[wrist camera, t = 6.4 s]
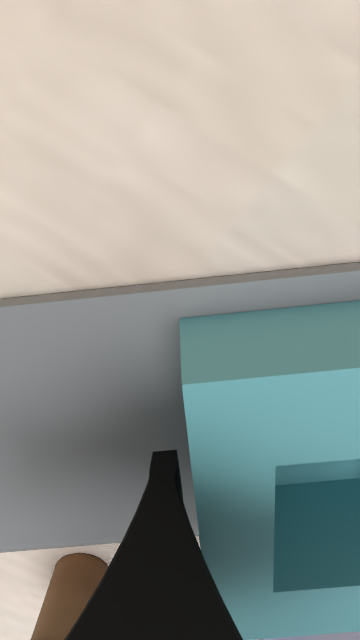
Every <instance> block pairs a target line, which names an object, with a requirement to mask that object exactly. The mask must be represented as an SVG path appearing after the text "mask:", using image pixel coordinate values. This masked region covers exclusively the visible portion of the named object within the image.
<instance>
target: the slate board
mask: <svg viewBox="0 0 360 640" xmlns="http://www.w3.org/2000/svg"><path fill="white" fill-rule="evenodd" d="M358 300H360V262H355V263H346V264H336V265H326V266H316V267H307V268H297V269H287V270H277V271H268V272H258V273H248V274H238V275H229V276H219V277H209V278H200V279H190V280H180V281H170V282H161V283H151V284H141V285H131V286H122V287H112V288H102V289H92V290H83V291H73V292H63V293H54V294H44V295H34V296H24V297H15V298H5V299H0V553H2V552H14V551H26V550H38V549H49V548H61V547H73V546H85V545H96V544H108V543H120V542H122V540H123V538H124V536H125V534H126V531H127V529H128V527H129V525H130V523H131V521H132V519H133V517H134V514H135V512H136V510H137V507H138V505H139V503H140V500H141V498H142V495H143V493H144V491H145V488H146V485H147V483H148V480H149V470H150V464H151V458H152V453H153V452H155V451H166V450H177V454H178V462H179V469H180V476H181V484H182V491H183V503H184V506H185V509H186V512H187V515H188V518H189V521H190V524H191V526H192V529H193V532H194V534H195V536H199V530H198V522H197V513H196V504H195V495H194V487H193V478H192V469H191V461H190V452H189V443H188V435H187V426H186V417H185V408H184V400H183V391H182V378H181V353H180V328H179V318H188V317H198V316H208V315H218V314H228V313H238V312H248V311H258V310H268V309H278V308H288V307H298V306H308V305H318V304H328V303H338V302H348V301H358Z"/></svg>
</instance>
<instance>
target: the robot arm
mask: <svg viewBox="0 0 360 640" xmlns="http://www.w3.org/2000/svg"><path fill="white" fill-rule="evenodd" d="M64 640H243V639H242V637H241V635H240V633H239V631H238V629H237V627H236V625H235V623H234V621H233V619H232V617H231V615H230V613H229V611H228V609H227V607H226V605H225V603H224V601H223V599H222V597H221V595H220V593H219V590H218V588H217V586H216V584H215V582H214V580H213V578H212V575H211V573H210V571H209V569H208V566H207V564H206V562H205V559H204V557H203V555H202V552H201V550H200V547H199V545H198V542H197V540H196V537H195V534H194V532H193V529H192V526H191V524H190V521H189V518H188V515H187V512H186V509H185V506H184V503H183V491H182V484H181V476H180V469H179V462H178V454H177V450H166V451H155V452H153V453H152V458H151V464H150V470H149V480H148V483H147V485H146V488H145V491H144V493H143V495H142V498H141V500H140V503H139V505H138V507H137V510H136V512H135V514H134V517H133V519H132V521H131V523H130V525H129V527H128V529H127V531H126V534H125V536H124V538H123V540H122V542H121V544H120V546H119V548H118V550H117V552H116V554H115V556H114V558H113V559H112V561H111V563H110V565H109V567H108V569H107V570H106V572H105V574H104V576H103V578H102V579H101V581H100V583H99V585H98V586H97V588H96V590H95V591H94V593H93V595H92V596H91V598H90V600H89V601H88V603H87V605H86V606H85V608H84V610H83V611H82V613H81V614H80V616H79V618H78V619H77V621H76V622H75V624H74V626H73V627H72V629H71V630H70V632H69V633H68V635H67V636H66V638H65V639H64ZM261 640H360V631H359V632H347V633H334V634H321V635H308V636H295V637H282V638H269V639H261Z"/></svg>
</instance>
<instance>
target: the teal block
mask: <svg viewBox="0 0 360 640" xmlns="http://www.w3.org/2000/svg"><path fill="white" fill-rule="evenodd" d="M179 328H180V353H181V378H182V391H183V400H184V408H185V417H186V426H187V435H188V443H189V452H190V461H191V469H192V478H193V487H194V495H195V504H196V513H197V522H198V530H199V539H200V548H201V552H202V555H203V557H204V559H205V562H206V564H207V566H208V569H209V571H210V573H211V575H212V578H213V580H214V582H215V584H216V586H217V588H218V590H219V593H220V595H221V597H222V599H223V601H224V603H225V605H226V607H227V609H228V611H229V613H230V615H231V617H232V619H233V621H234V623H235V625H236V627H237V629H238V631H239V633H240V635H241V637H242V639H243V640H257V639H269V638H282V637H295V636H308V635H321V634H334V633H347V632H359V631H360V300H358V301H348V302H338V303H328V304H318V305H308V306H298V307H288V308H278V309H268V310H258V311H248V312H238V313H228V314H218V315H208V316H198V317H188V318H179Z"/></svg>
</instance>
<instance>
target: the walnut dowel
mask: <svg viewBox="0 0 360 640" xmlns="http://www.w3.org/2000/svg"><path fill="white" fill-rule="evenodd" d="M107 569H108V566H107V565H106V563H105V562H104V561H102V560H101V559H99V558H98V557H95V556H93V555H89V554H71V555H67V556H65V557H63V558H61V559H60V560H59V561H58V562H57V564H56V566H55V569H54V572H53V575H52V578H51V581H50V584H49V587H48V590H47V593H46V596H45V599H44V602H43V605H42V608H41V611H40V614H39V617H38V620H37V623H36V626H35V629H34V632H33V635H32V638H31V640H64V639H65V638H66V636H67V635H68V633H69V632H70V630H71V629H72V627H73V626H74V624H75V622H76V621H77V619H78V618H79V616H80V614H81V613H82V611H83V610H84V608H85V606H86V605H87V603H88V601H89V600H90V598H91V596H92V595H93V593H94V591H95V590H96V588H97V586H98V585H99V583H100V581H101V579H102V578H103V576H104V574H105V572H106V570H107Z"/></svg>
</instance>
